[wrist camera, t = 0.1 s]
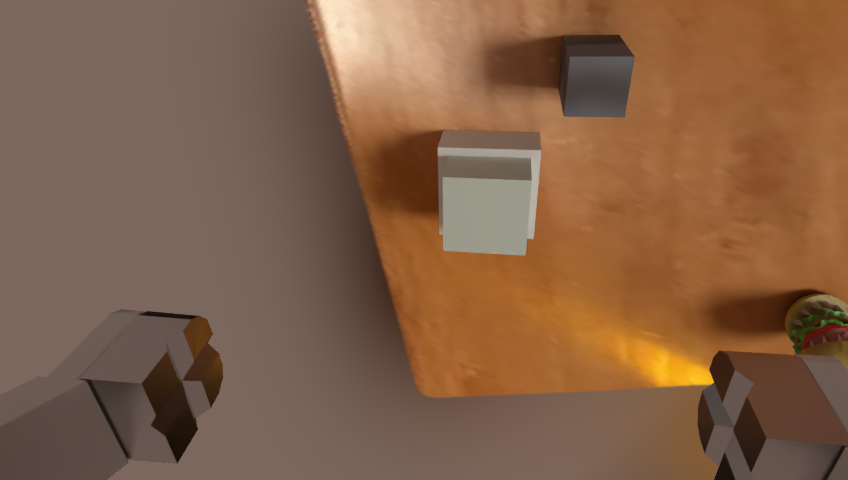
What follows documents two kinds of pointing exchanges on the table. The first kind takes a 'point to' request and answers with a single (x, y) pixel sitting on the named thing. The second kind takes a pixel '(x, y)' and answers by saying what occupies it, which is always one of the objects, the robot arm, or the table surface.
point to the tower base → (491, 147)
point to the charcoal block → (595, 75)
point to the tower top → (486, 204)
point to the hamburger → (819, 326)
